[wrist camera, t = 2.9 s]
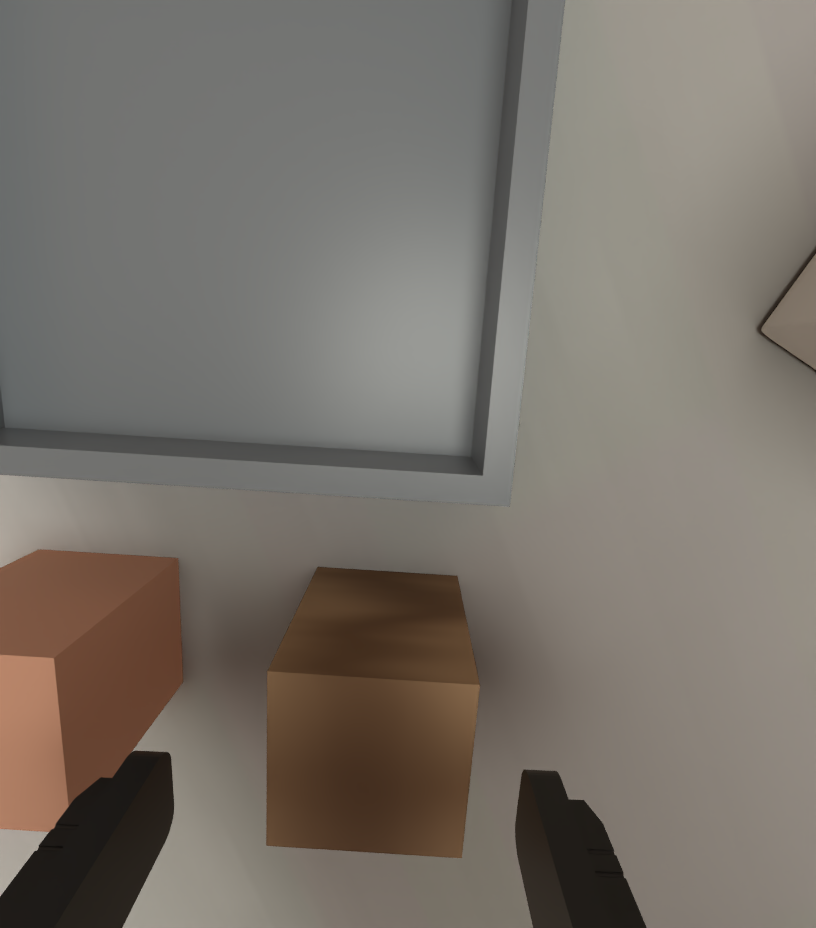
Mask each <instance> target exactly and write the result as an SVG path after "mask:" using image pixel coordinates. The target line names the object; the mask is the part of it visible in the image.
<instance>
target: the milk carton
mask: <svg viewBox="0 0 816 928" xmlns="http://www.w3.org/2000/svg"><path fill="white" fill-rule="evenodd" d="M761 331H762V332H763V333H764V334H765V335H766V336H767V337H769V338H770V339H771V340H773V341H774V342H776V343H777V344H779V345H780V346H782V347H783V348H784V349H786V350H787V351H789V352H790V353H792V354H793V355H795V356H796V357H798V358H799V359H801V360H802V361H804V362H805V363H807V364H808V365H809V366H811V367H812V368H814V369H815V370H816V254H815V255H814V257H813V258H812V259H811V261H810V262H809V264H808V265H807V266H806V268H805V269H804V270H803V272H802V273H801V275H800V276H799V277H798V279H797V280H796V281H795V283H794V284H793V285H792V287H791V288H790V290H789V291H788V292H787V294H786V295H785V296H784V298H783V299H782V300H781V302H780V303H779V305H778V306H777V307H776V309H775V310H774V311H773V313H772V314H771V316H770V317H769V318H768V320H767V321H766V322H765V324H764V325H763V327H762V329H761Z"/></svg>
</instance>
